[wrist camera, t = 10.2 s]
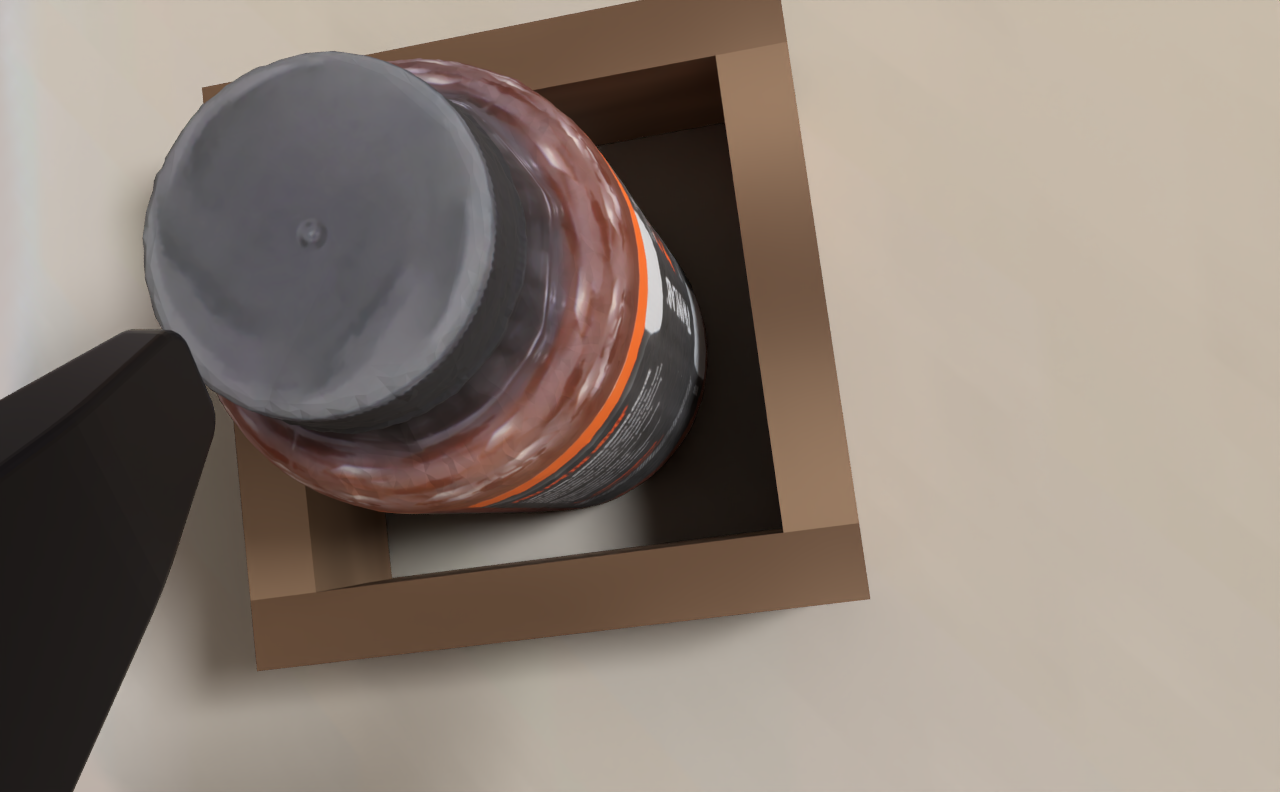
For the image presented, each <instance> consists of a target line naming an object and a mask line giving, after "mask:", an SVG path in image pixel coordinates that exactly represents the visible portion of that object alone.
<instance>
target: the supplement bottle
mask: <svg viewBox="0 0 1280 792" xmlns="http://www.w3.org/2000/svg"><path fill="white" fill-rule="evenodd" d="M143 245H144V268H145V280H146V283H147V287H148V290H149V294H150V298H151V303H152V307H153V310H154V313H155V317H156V319H157V321H158V322H159V324H160V326H161V328H162V329H163V330H172V331H174V332H177V333H178V334H180V335H181V336H182V337H183V338H184V339H185V340H186V342H187V344H188V346H189V348H190V351H191V353H192V356H193V358H194V360H195V363H196V365H197V367H198V370H199V372H200V375H201V377H202V379H203V382H204V384H206V385H207V386H208V387H209V388H210V389H211V390H212V391H214V392H215V393H217V395H218V397H219V399H220V401H221V403H222V404H223V405H224V407H225V409H226V411H227V412H228V414H229V415H230V416H231V418H232V419H233V421H234V422H235V423H236V425H237V426H238V427H239V429H240V430H241V431H242V432H243V434H244V435H245V436H246V438H247V439H248V440H249V441H250V442H251V443H252V444H253V446H254V447H255V448H256V449H257V450H259V451H260V452H261V453H262V454H263V455H264V456H265V457H266V458H267V459H268V460H269V461H270V462H271V463H272V464H273V465H275V466H276V467H278V468H279V469H280V470H281V471H282V472H284V473H285V474H287V475H289V476H290V477H292V478H294V479H295V480H297V481H298V482H300V483H302V484H304V485H305V486H307V487H309V488H311V489H313V490H315V491H317V492H319V493H321V494H323V495H326V496H328V497H331V498H334V499H336V500H339V501H342V502H346V503H349V504H352V505H355V506H359V507H363V508H367V509H371V510H375V511H381V512H390V513H404V514H456V513H527V512H528V513H530V512H544V511H564V510H574V509H581V508H587V507H591V506H596V505H600V504H603V503H606V502H608V501H611V500H613V499H616V498H618V497H620V496H622V495H624V494H625V493H627V492H629V491H630V490H632V489H634V488H635V487H637V486H638V485H640V484H641V483H643V482H644V481H646V480H647V479H648V478H650V477H651V476H652V475H653V474H654V473H656V472H657V471H658V470H659V469H660V468H661V467H662V466H663V465H664V464H665V463H666V462H667V461H668V460H669V458H670V457H671V456H672V455H673V453H674V452H675V451H676V450H677V448H678V447H679V446H680V444H681V443H682V441H683V440H684V439H685V437H686V435H687V434H688V432H689V431H690V429H691V426H692V424H693V422H694V420H695V417H696V414H697V412H698V409H699V406H700V403H701V400H702V397H703V391H704V386H705V380H706V371H707V366H708V364H707V341H706V331H705V326H704V322H703V319H702V316H701V312H700V308H699V305H698V303H697V300H696V298H695V295H694V292H693V289H692V286H691V284H690V282H689V281H688V279H687V278H686V276H685V273H684V271H683V270H682V269H681V267H680V266H679V264H678V262H677V260H676V259H675V258H674V257H673V255H672V254H671V253H670V251H669V250H668V248H667V247H666V245H665V244H664V242H663V241H662V239H661V238H660V236H659V235H658V233H657V232H656V231H655V230H654V229H653V227H652V226H651V224H650V223H649V222H648V220H647V219H646V217H645V216H644V214H643V213H642V211H641V210H640V208H639V207H638V206H637V204H636V202H635V201H634V199H633V198H632V196H631V194H630V193H629V192H628V191H627V188H626V186H625V185H624V184H623V183H622V181H621V180H620V179H619V177H618V176H617V174H616V173H615V172H614V170H613V169H612V167H611V166H610V165H609V163H608V162H607V161H606V160H605V158H604V157H603V155H602V154H601V153H600V151H599V150H598V149H597V147H596V146H595V145H594V144H593V142H592V141H591V140H590V139H589V138H588V136H587V135H586V134H585V133H584V132H583V131H582V130H581V129H580V128H579V127H578V126H577V125H576V124H575V122H574V121H573V120H572V119H571V118H569V117H568V116H566V115H565V114H564V113H562V112H561V111H560V110H559V109H557V108H556V107H555V106H554V105H553V104H552V103H551V102H550V101H548V100H547V99H545V98H544V97H543V96H541V95H540V94H538V93H537V92H535V91H533V90H532V89H531V88H529V87H527V86H525V85H524V84H523V83H522V82H520V81H519V80H517V79H514V78H511V77H508V76H505V75H501V74H498V73H496V72H493V71H491V70H487V69H482V68H479V67H475V66H472V65H468V64H463V63H459V62H453V61H445V60H428V59H422V58H417V59H408V60H396V61H383V60H380V59H377V58H373V57H370V56H365V55H357V54H351V53H344V52H336V51H329V52H315V53H304V54H301V55H297V56H293V57H289V58H285V59H281V60H278V61H276V62H273V63H271V64H269V65H266V66H261V67H257V68H255V69H253V70H251V71H250V72H248V73H246V74H244V75H242V76H241V77H239V78H238V79H236V80H235V81H233V82H231V83H230V84H228V85H226V86H225V87H224V88H223V89H222V90H221V91H220V92H219V93H218V94H216V95H215V96H214V97H212V98H211V99H209V100H208V101H207V102H205V103H204V104H202V105H201V107H200V108H199V110H198V111H197V112H196V113H195V115H194V116H193V117H192V118H191V119H190V121H189V122H188V123H187V125H186V126H185V127H184V129H183V130H182V132H181V133H180V135H179V136H178V138H177V140H176V141H175V143H174V145H173V146H172V148H171V150H170V151H169V153H168V154H167V156H166V158H165V162H164V164H163V167H162V169H161V170H160V171H159V172H158V173H157V174H156V177H155V180H154V186H153V192H152V195H151V198H150V201H149V204H148V208H147V211H146V217H145V225H144V232H143Z"/></svg>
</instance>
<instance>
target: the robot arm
mask: <svg viewBox="0 0 1280 792" xmlns="http://www.w3.org/2000/svg"><path fill="white" fill-rule="evenodd" d="M214 430H215V412H214V407H213V404H212V401H211V398H210V396H209V394H208V391H207V389H206V387H205V384H204V382H203V379H202V377H201V375H200V372H199V370H198V367H197V365H196V363H195V360H194V358H193V356H192V353H191V351H190V348H189V346H188V344H187V342H186V340H185V339H184V338H183V337H182V336H181V335H180V334H178V333H177V332H174V331H172V330H153V329H132V330H127V331H124V332H122V333H120V334H118V335H116V336H115V337H113V338H111V339H109V340H107V341H106V342H104V343H102V344H100V345H98V346H97V347H95V348H93V349H91V350H89V351H88V352H86V353H84V354H82V355H80V356H79V357H77V358H75V359H73V360H71V361H70V362H68V363H66V364H64V365H62V366H61V367H59V368H57V369H55V370H53V371H52V372H50V373H48V374H46V375H44V376H43V377H41V378H39V379H37V380H35V381H33V382H32V383H30V384H28V385H26V386H24V387H23V388H21V389H19V390H17V391H15V392H14V393H12V394H10V395H8V396H6V397H5V398H3V399H1V400H0V792H73V791H74V789H75V786H76V784H77V782H78V780H79V777H80V775H81V773H82V771H83V768H84V766H85V764H86V762H87V760H88V757H89V755H90V753H91V751H92V748H93V746H94V744H95V742H96V740H97V737H98V735H99V733H100V731H101V728H102V726H103V724H104V722H105V719H106V717H107V715H108V713H109V711H110V708H111V706H112V704H113V702H114V699H115V697H116V695H117V693H118V691H119V688H120V686H121V684H122V682H123V679H124V677H125V675H126V673H127V670H128V668H129V666H130V664H131V662H132V659H133V657H134V655H135V653H136V650H137V648H138V646H139V644H140V642H141V639H142V637H143V635H144V633H145V630H146V628H147V626H148V624H149V622H150V619H151V617H152V615H153V612H154V610H155V608H156V605H157V603H158V600H159V598H160V596H161V593H162V591H163V588H164V585H165V583H166V580H167V577H168V574H169V572H170V569H171V566H172V563H173V560H174V557H175V554H176V551H177V548H178V545H179V542H180V538H181V535H182V532H183V529H184V526H185V523H186V520H187V517H188V514H189V510H190V507H191V504H192V501H193V498H194V495H195V492H196V489H197V486H198V482H199V479H200V476H201V473H202V470H203V467H204V464H205V461H206V457H207V454H208V451H209V448H210V445H211V442H212V439H213V435H214Z"/></svg>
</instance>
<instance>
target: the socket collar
mask: <svg viewBox="0 0 1280 792" xmlns="http://www.w3.org/2000/svg"><path fill="white" fill-rule="evenodd" d="M365 56H370V57H373V58H377V59H380V60H383V61H396V60H408V59H417V58H422V59H428V60H445V61H453V62H459V63H463V64H468V65H472V66H475V67H479V68H482V69H487V70H491V71H493V72H496V73H498V74H501V75H505V76H508V77H511V78H514V79H517V80H519V81H520V82H522V83H523V84H524V85H525V86H527V87H529V88H531V89H532V90H533V91H535V92H537V93H538V94H540V95H541V96H543V97H544V98H545V99H547V100H548V101H550V102H551V103H552V104H553V105H554V106H555V107H556V108H557V109H559V110H560V111H561V112H562V113H564V114H565V115H566V116H568V117H569V118H571V119H572V120H573V121H574V122H575V124H576V125H577V126H578V127H579V128H580V129H581V130H582V131H583V132H584V133H585V134H586V135H587V136H588V138H589V139H590V140H591V141H592V142H593V144H594V145H595V146H597V145H603V144H608V143H614V142H620V141H625V140H631V139H636V138H642V137H647V136H653V135H658V134H664V133H669V132H675V131H680V130H686V129H691V128H697V127H702V126H708V125H713V124H719V123H724V122H725V125H726V132H727V139H728V146H729V153H730V160H731V167H732V174H733V181H734V188H735V195H736V202H737V209H738V216H739V223H740V230H741V237H742V244H743V251H744V258H745V265H746V273H747V280H748V287H749V294H750V301H751V308H752V315H753V322H754V329H755V336H756V343H757V350H758V357H759V364H760V371H761V378H762V385H763V392H764V399H765V406H766V413H767V420H768V427H769V434H770V441H771V448H772V455H773V462H774V469H775V476H776V483H777V490H778V497H779V504H780V511H781V518H782V525H783V528H779V529H772V530H764V531H756V532H748V533H740V534H733V535H725V536H717V537H709V538H701V539H694V540H686V541H678V542H670V543H662V544H655V545H647V546H639V547H631V548H623V549H616V550H608V551H600V552H592V553H584V554H577V555H569V556H561V557H553V558H545V559H537V560H530V561H522V562H514V563H506V564H498V565H491V566H483V567H475V568H467V569H459V570H452V571H444V572H436V573H428V574H420V575H413V576H405V577H397V578H392V574H391V565H390V555H389V546H388V537H387V527H386V518H385V512H381V511H375V510H371V509H367V508H363V507H359V506H355V505H352V504H349V503H346V502H342V501H339V500H336V499H334V498H331V497H328V496H326V495H323V494H321V493H319V492H317V491H315V490H313V489H311V488H309V487H307V486H305V485H304V484H302V483H300V482H298V481H297V480H295V479H294V478H292V477H290V476H289V475H287V474H285V473H284V472H282V471H281V470H280V469H279V468H278V467H276V466H275V465H273V464H272V463H271V462H270V461H269V460H268V459H267V458H266V457H265V456H264V455H263V454H262V453H261V452H260V451H259V450H257V449H256V448H255V447H254V446H253V444H252V443H251V442H250V441H249V440H248V439H247V438H246V436H245V435H244V434H243V432H242V431H241V430H240V429H239V427H238V426H237V425H236V423H235V422H234V431H235V442H236V453H237V463H238V474H239V484H240V495H241V506H242V516H243V527H244V537H245V548H246V558H247V569H248V580H249V590H250V601H251V611H252V622H253V633H254V643H255V654H256V664H257V671H263V670H271V669H280V668H288V667H297V666H305V665H314V664H322V663H331V662H339V661H348V660H356V659H365V658H373V657H382V656H390V655H399V654H407V653H416V652H424V651H433V650H441V649H450V648H458V647H467V646H475V645H484V644H492V643H501V642H509V641H518V640H526V639H535V638H543V637H552V636H560V635H569V634H577V633H586V632H594V631H603V630H611V629H620V628H628V627H637V626H645V625H654V624H662V623H671V622H679V621H688V620H696V619H705V618H713V617H722V616H730V615H739V614H747V613H756V612H764V611H773V610H781V609H790V608H798V607H807V606H815V605H824V604H832V603H841V602H849V601H858V600H866V599H870V594H869V587H868V580H867V574H866V567H865V560H864V553H863V547H862V540H861V533H860V527H859V520H858V513H857V507H856V500H855V493H854V487H853V480H852V473H851V467H850V460H849V453H848V446H847V440H846V433H845V426H844V420H843V413H842V406H841V400H840V393H839V386H838V380H837V373H836V366H835V359H834V353H833V346H832V339H831V333H830V326H829V319H828V313H827V306H826V299H825V293H824V286H823V279H822V272H821V266H820V259H819V252H818V246H817V239H816V232H815V226H814V219H813V212H812V206H811V199H810V192H809V185H808V179H807V172H806V165H805V159H804V152H803V145H802V139H801V132H800V125H799V119H798V112H797V105H796V98H795V92H794V85H793V78H792V72H791V65H790V58H789V52H788V45H787V38H786V32H785V25H784V18H783V11H782V5H781V0H640V1H635V2H630V3H625V4H620V5H615V6H610V7H605V8H600V9H594V10H589V11H584V12H579V13H574V14H569V15H564V16H559V17H554V18H549V19H544V20H539V21H534V22H529V23H524V24H519V25H514V26H509V27H504V28H499V29H494V30H489V31H484V32H479V33H474V34H469V35H464V36H459V37H454V38H449V39H444V40H439V41H434V42H429V43H424V44H419V45H414V46H409V47H404V48H399V49H394V50H389V51H384V52H379V53H374V54H369V55H365ZM230 83H231V82H228V83H223V84H218V85H213V86H208V87H203V88H202V93H203V103H205V102H207V101H208V100H209V99H211V98H212V97H214V96H215V95H216V94H218V93H219V92H220V91H221V90H222V89H223V88H224V87H225V86H226V85H228V84H230Z"/></svg>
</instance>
